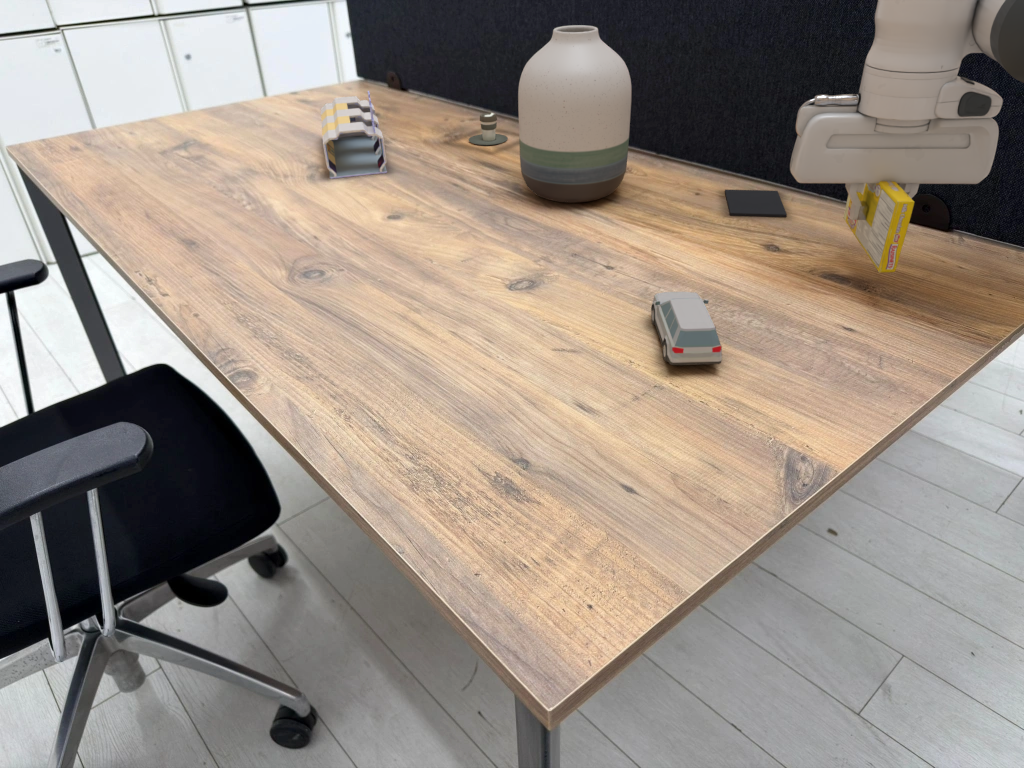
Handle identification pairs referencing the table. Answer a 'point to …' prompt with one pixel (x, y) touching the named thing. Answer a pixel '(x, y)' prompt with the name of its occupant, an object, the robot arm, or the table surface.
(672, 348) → the toy car
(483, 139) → the striped post on disc
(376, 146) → the diorama
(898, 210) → the candy box
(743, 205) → the mat
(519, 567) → the table surface
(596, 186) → the vase
